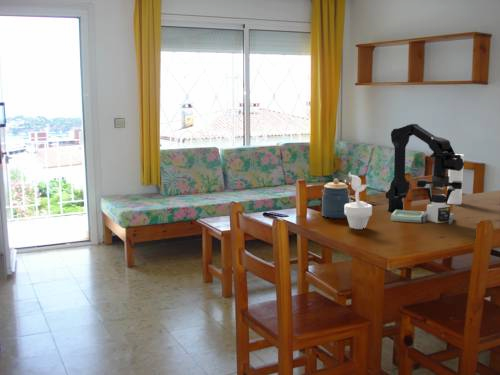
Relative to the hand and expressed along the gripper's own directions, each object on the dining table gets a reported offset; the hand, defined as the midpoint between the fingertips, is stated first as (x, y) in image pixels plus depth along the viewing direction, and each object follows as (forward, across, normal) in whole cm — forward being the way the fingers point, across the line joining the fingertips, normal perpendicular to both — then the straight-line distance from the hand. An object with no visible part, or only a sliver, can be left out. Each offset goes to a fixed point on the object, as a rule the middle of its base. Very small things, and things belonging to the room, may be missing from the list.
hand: (438, 203), depth 263 cm
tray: (+8, -13, 0) cm, 15 cm away
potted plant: (+8, -30, -26) cm, 41 cm away
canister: (+8, -45, -6) cm, 46 cm away
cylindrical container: (+8, +4, +46) cm, 47 cm away
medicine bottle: (+8, 0, 0) cm, 8 cm away
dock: (+8, 0, 0) cm, 8 cm away
